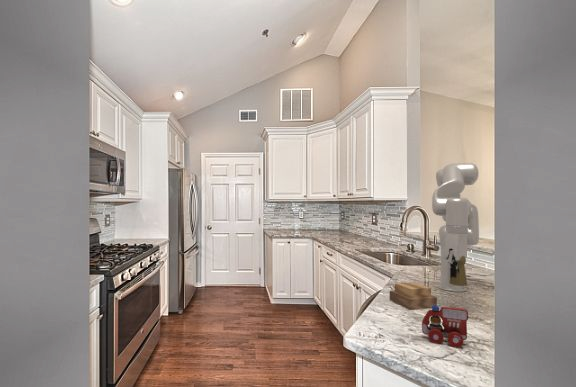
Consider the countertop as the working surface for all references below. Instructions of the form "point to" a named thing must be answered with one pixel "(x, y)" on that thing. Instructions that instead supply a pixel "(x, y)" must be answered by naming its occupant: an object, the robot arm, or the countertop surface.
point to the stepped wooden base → (413, 296)
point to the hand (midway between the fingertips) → (456, 277)
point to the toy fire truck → (446, 325)
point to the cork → (460, 274)
